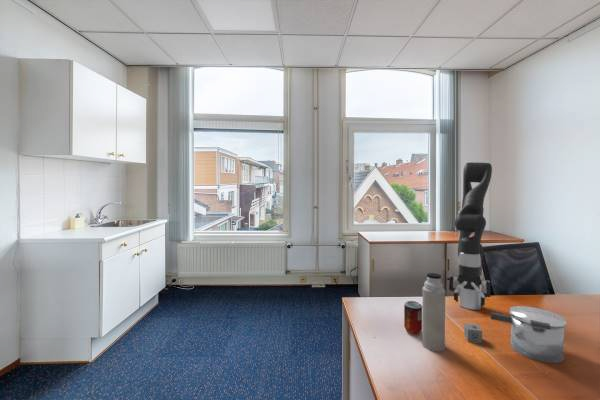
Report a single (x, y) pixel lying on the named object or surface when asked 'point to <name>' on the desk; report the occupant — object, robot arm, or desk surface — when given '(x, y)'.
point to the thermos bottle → (433, 313)
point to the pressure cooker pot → (534, 340)
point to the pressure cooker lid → (538, 317)
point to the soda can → (413, 317)
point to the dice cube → (473, 333)
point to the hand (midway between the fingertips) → (469, 303)
